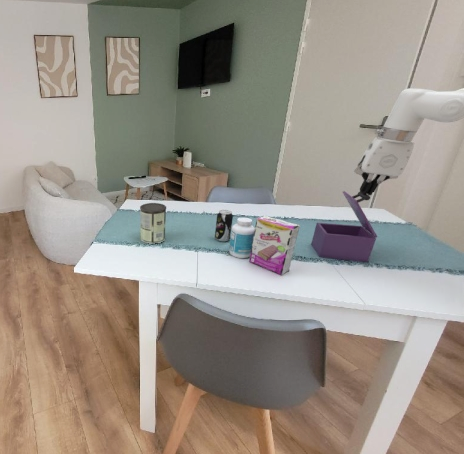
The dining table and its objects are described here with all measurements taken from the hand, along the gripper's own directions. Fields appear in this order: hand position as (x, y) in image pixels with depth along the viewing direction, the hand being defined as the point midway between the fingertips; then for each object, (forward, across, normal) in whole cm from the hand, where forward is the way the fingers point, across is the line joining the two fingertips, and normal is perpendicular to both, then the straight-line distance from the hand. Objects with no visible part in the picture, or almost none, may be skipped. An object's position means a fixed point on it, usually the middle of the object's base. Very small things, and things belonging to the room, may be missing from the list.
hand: (365, 193), depth 94 cm
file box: (+22, 0, -2) cm, 22 cm away
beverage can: (+27, -38, 0) cm, 47 cm away
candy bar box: (+24, -24, -18) cm, 39 cm away
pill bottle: (+26, -32, -11) cm, 43 cm away
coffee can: (+30, -65, -5) cm, 72 cm away
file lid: (+7, +1, -1) cm, 7 cm away
